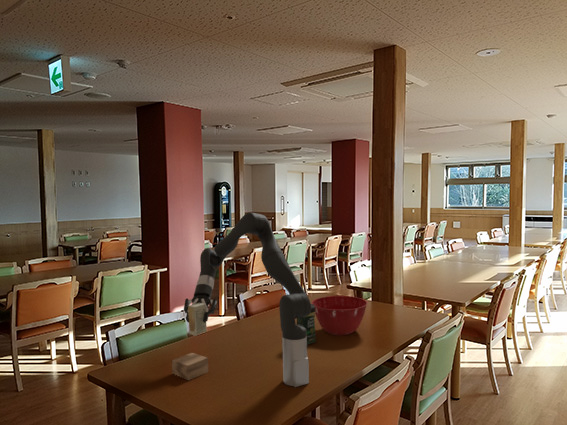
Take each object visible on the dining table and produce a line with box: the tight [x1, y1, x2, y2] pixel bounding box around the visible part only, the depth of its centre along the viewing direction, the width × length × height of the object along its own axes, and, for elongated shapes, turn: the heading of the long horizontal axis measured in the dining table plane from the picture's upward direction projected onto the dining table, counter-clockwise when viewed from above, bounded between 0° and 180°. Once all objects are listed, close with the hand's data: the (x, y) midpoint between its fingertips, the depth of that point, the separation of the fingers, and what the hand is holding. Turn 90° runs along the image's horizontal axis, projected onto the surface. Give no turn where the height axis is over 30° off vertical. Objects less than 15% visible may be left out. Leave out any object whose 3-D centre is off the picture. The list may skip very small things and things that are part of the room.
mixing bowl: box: [311, 295, 368, 336], centre depth 219 cm, size 28×28×16 cm
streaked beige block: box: [171, 352, 209, 381], centre depth 170 cm, size 10×10×6 cm
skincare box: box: [188, 303, 208, 336], centre depth 178 cm, size 6×4×12 cm
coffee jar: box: [296, 303, 317, 346], centre depth 202 cm, size 10×8×19 cm
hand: (196, 321), depth 177 cm, fingers closed on skincare box, 6 cm apart
